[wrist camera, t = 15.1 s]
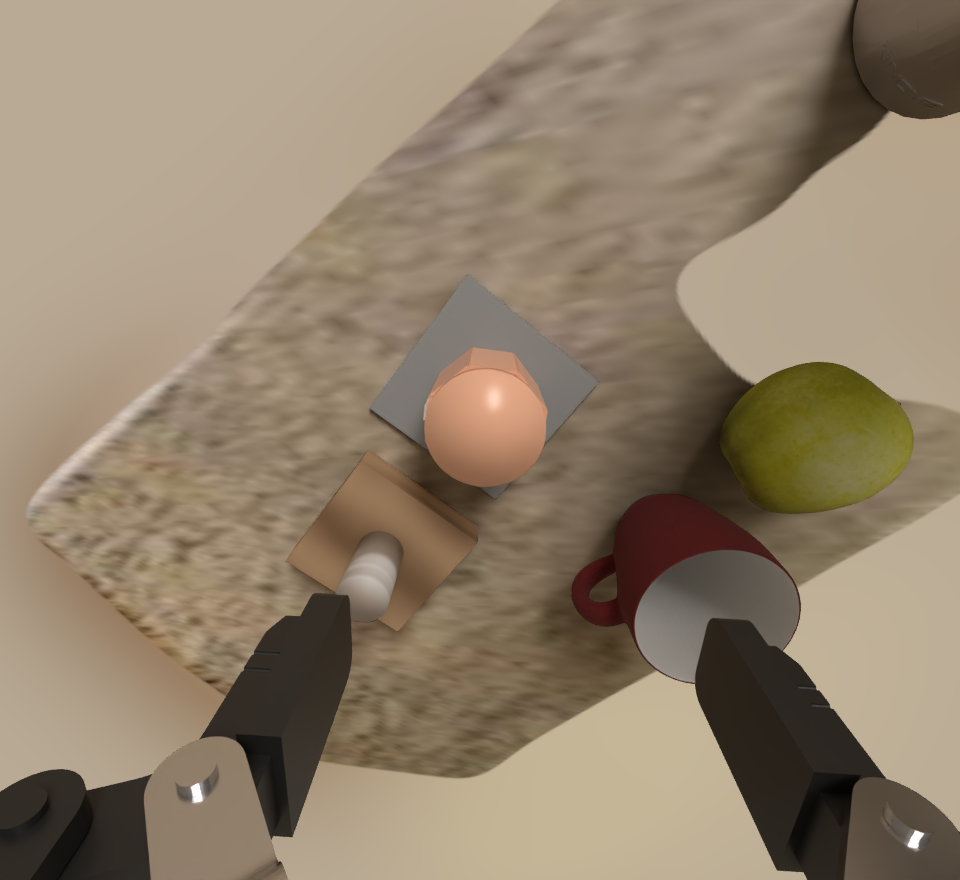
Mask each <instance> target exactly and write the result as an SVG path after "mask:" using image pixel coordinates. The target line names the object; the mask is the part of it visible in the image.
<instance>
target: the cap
mask: <svg viewBox="0 0 960 880" xmlns="http://www.w3.org/2000/svg"><path fill="white" fill-rule="evenodd" d="M547 413H548V411H547V407H546V405H545V402H544V400H543V397H542V395H541V392H540V390H539V387H538V385H537V383H536V382H535V381H534V379H533V378H532V377H531V375H530V374H529V373H528V371H527V370H526V369H525V367H524V366H523V365H522V363H521V362H520V361H519V359H518V358H517V357H516V355H515V354H513V353H511V352H504V351H496V350H489V349H481V348H474V347H473V349H472V348H471V349H469V350H468V351H467V352H466V353H464V354H463V355H462V356H460V357H459V358H458V359H456V360H455V361H454V362H453V363H451V364H450V365H449V366H447V367H446V368H445V369H444V370H442V371H441V372H440V374H439V376H438V378H437V380H436V382H435V384H434V386H433V388H432V390H431V392H430V394H429V397H428V400H427V402H426V404H425V407H424V417H423V420H425V425H424V432H425V439H424V441H425V443H426V444H427V447H428V449H429V452H430V454H431V456H432V458H433V459H434V461H435V462H436V463H437V465H438V466H439V467H440V468H441V469H442V470H443V471H444V472H445V473H447V474H448V475H449V476H451V477H452V478H454V479H456V480H458V481H460V482H462V483H465V484H469V485H473V486H480V487H491V486H498V485H502V484H506V483H508V482H511V481H513V480H515V479H517V478H518V477H520V476H522V475H523V474H524V473H525V472H527V471H528V470H529V469H530V468H531V467H532V466H533V464H534V463H535V462H536V460H537V459H538V457H539V456H540V453H541V451H542V449H543V446H544V442H545V437H546V419H547Z"/></svg>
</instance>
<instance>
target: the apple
mask: <svg viewBox="0 0 960 880" xmlns="http://www.w3.org/2000/svg"><path fill="white" fill-rule="evenodd" d="M900 405H901V403H897V402H896V401H895V400H894V399H893V398H892V397H890V396H889V395H887V394H886V393H885V392H883V391H882V390H881V389H880V388H878V387H877V386H876V385H875V384H873V383H872V382H871V381H869V380H868V379H866V378H865V377H864V376H862V375H860V374H858V373H857V372H855V371H853V370H851V369H849V368H847V367H844V366H842V365H838V364H834V363H826V362H825V363H824V362H813V363H805V364H801V365H796V366H793V367H790V368H787V369H784V370H781V371H779V372H776V373H774V374H772V375H770V376H768V377H767V378H765V379H763V380H762V381H760V382H759V383H758V384H756V385H755V386H754V387H752V388H751V389H750V390H749V391H748V392H747V393H745V394H744V395H743V396H742V397H741V398H740V400H739V401H738V402H737V403H736V404H735V406H734V407H733V408H732V410H731V411H730V413H729V414H728V416H727V418H726V420H725V422H724V424H723V426H722V429H721V433H720V447H721V450H722V452H723V454H724V456H725V458H726V459H727V460H728V461H729V463H730V465H731V467H732V469H733V471H734V473H735V475H736V478H737V480H738V481H739V483H740V484H741V486H742V487H743V490H744V492H745V493H746V495H747V496H748V498H749V499H750V500H751V501H752V502H753V503H754V504H755V505H757V506H758V507H760V508H762V509H764V510H768V511H772V512H777V513H785V514H799V513H814V512H821V511H827V510H833V509H837V508H841V507H845V506H848V505H852V504H855V503H857V502H860V501H862V500H864V499H867V498H869V497H871V496H873V495H875V494H876V493H878V492H879V491H881V490H882V489H884V488H885V487H887V486H888V485H889V484H891V483H892V482H893V481H894V480H895V479H896V478H897V477H898V476H899V475H900V474H901V472H902V471H903V469H904V468H905V466H906V464H907V463H908V461H909V459H910V456H911V453H912V449H913V430H912V427H911V424H910V421H909V419H908V417H907V415H906V413H905V412H904V410H903V409H902V408H901V406H900Z"/></svg>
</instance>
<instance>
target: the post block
mask: <svg viewBox="0 0 960 880" xmlns="http://www.w3.org/2000/svg"><path fill="white" fill-rule="evenodd" d="M477 542H478V526H476V525H475V524H473V523H472V522H471V521H469V520H468V519H466V518H465V517H463V516H462V515H461V514H459V513H458V512H456V511H455V510H454V509H452V508H451V507H449V506H448V505H446V504H445V503H444V502H442V501H441V500H439V499H438V498H436V497H435V496H434V495H432V494H431V493H429V492H428V491H427V490H425V489H424V488H422V487H421V486H419V485H418V484H417V483H415V482H414V481H412V480H411V479H409V478H408V477H407V476H405V475H404V474H402V473H401V472H400V471H398V470H397V469H395V468H394V467H392V466H391V465H390V464H388V463H387V462H385V461H384V460H382V459H381V458H380V457H378V456H377V455H375V454H374V453H373V452H371V451H370V450H368V451H367V453H366V454H365V455H364V457H363V458H362V459H361V461H360V462H359V463H358V464H357V466H356V467H355V468H354V470H353V471H352V472H351V474H350V475H349V476H348V478H347V479H346V480H345V482H344V483H343V484H342V486H341V487H340V488H339V490H338V491H337V492H336V494H335V495H334V496H333V498H332V499H331V500H330V502H329V503H328V504H327V506H326V507H325V508H324V509H323V511H322V512H321V513H320V515H319V516H318V517H317V519H316V520H315V521H314V523H313V524H312V525H311V527H310V528H309V529H308V531H307V532H306V533H305V535H304V536H303V537H302V539H301V540H300V541H299V543H298V544H297V545H296V547H295V548H294V550H293V551H292V552H291V554H290V555H289V557H288V558H287V560H286V562H288V563H290V564H291V565H293V566H294V567H296V568H297V569H299V570H301V571H302V572H304V573H305V574H307V575H309V576H310V577H312V578H313V579H315V580H316V581H318V582H320V583H321V584H323V585H324V586H326V587H328V588H329V589H331V590H332V591H334V592H336V593H335V594H338V595H348V596H349V599H350V613H351V620H353V621H357V622H371V621H375V620H377V619H378V620H380V621H381V622H383V623H385V624H386V625H388V626H389V627H391V628H393V629H394V630H396V631H397V632H398V631H399V630H400V628H401V627H402V626H403V625H404V624H405V623H406V622H407V621H408V619H409V618H410V617H411V616H412V615H413V614H414V613H415V612H416V611H417V609H418V608H419V607H420V606H421V605H422V604H423V603H424V602H425V601H426V599H427V598H428V597H429V596H430V595H431V594H432V593H433V592H434V590H435V589H436V588H437V587H438V586H439V585H440V584H441V583H442V582H443V580H444V579H445V578H446V577H447V576H448V575H449V574H450V573H451V571H452V570H453V569H454V568H455V567H456V566H457V565H458V564H459V563H460V561H461V560H462V559H463V558H464V557H465V556H466V555H467V554H468V553H469V551H470V550H471V549H472V548H473V547H474V546H475V545H476V544H477Z"/></svg>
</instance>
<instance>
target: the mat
mask: <svg viewBox="0 0 960 880" xmlns="http://www.w3.org/2000/svg"><path fill="white" fill-rule="evenodd" d="M473 347H474V348H481V349H489V350H496V351H504V352H511V353H513V354H515V355H516V357H517V358H518V359H519V361H520V362H521V363H522V365H523V366H524V367H525V369H526V370H527V371H528V373H529V374H530V375H531V377H532V378H533V379H534V381H535V382H536V383H537V385H538V387H539V390H540V392H541V395H542V397H543V400H544V402H545V405H546V407H547V411H548V413H547V419H546V437H545V442H544V444H545V443H546V442H547V440H548V439H549V438H550V437H551V436H552V435H553V434H554V433H555V431H556V430H557V429H558V428H559V427H560V426H561V425H562V423H563V422H564V421H565V420H566V419H567V418H568V417H569V415H570V414H571V413H572V412H573V411H574V410H575V409H576V408H577V406H578V405H579V404H580V403H581V402H582V401H583V400H584V398H585V397H586V396H587V395H588V394H589V393H590V392H591V390H592V389H593V388H594V387H595V386H596V385H597V384H598V383H599V381H598V380H597V379H595V378H594V377H593V376H592V375H590V374H589V373H588V372H587V371H586V370H584V369H583V368H582V367H581V366H579V365H578V364H577V363H576V362H575V361H573V360H572V359H571V358H570V357H568V356H567V355H566V354H565V353H564V352H562V351H561V350H560V349H559V348H557V347H556V346H555V345H554V344H553V343H551V342H550V341H549V340H548V339H546V338H545V337H544V336H543V335H542V334H540V333H539V332H538V331H537V330H535V329H534V328H533V327H532V326H531V325H529V324H528V323H527V322H526V321H524V320H523V319H522V318H521V317H520V316H518V315H517V314H516V313H515V312H513V311H512V310H511V309H510V308H509V307H507V306H506V305H505V304H504V303H502V302H501V301H500V300H499V299H498V298H496V297H495V296H494V295H493V294H491V293H490V292H489V291H488V290H487V289H485V288H484V287H483V286H482V285H480V284H479V283H478V282H477V281H476V280H474V279H473V278H472V277H471V276H469V275H467V276H466V277H465V279H464V280H463V281H462V283H461V284H460V286H459V287H458V288H457V290H456V291H455V292H454V294H453V295H452V296H451V298H450V299H449V301H448V302H447V303H446V305H445V306H444V307H443V309H442V310H441V311H440V313H439V314H438V316H437V317H436V318H435V320H434V321H433V322H432V324H431V325H430V326H429V328H428V329H427V331H426V332H425V333H424V335H423V336H422V337H421V339H420V340H419V341H418V343H417V344H416V346H415V347H414V348H413V350H412V351H411V352H410V354H409V355H408V356H407V358H406V359H405V361H404V362H403V363H402V365H401V366H400V367H399V369H398V370H397V371H396V373H395V374H394V375H393V377H392V378H391V380H390V381H389V382H388V384H387V385H386V386H385V388H384V389H383V390H382V392H381V393H380V395H379V396H378V397H377V399H376V400H375V401H374V403H373V404H372V405H371V407H370V409H371V410H373V411H374V412H375V413H377V414H378V415H380V416H381V417H382V418H384V419H385V420H387V421H388V422H389V423H391V424H392V425H393V426H395V427H396V428H398V429H399V430H400V431H402V432H403V433H404V434H406V435H407V436H409V437H410V438H411V439H413V440H414V441H416V442H417V443H418V444H420V445H421V446H422V447H424V448H425V449H427V450H428V451H429V449H428V447H427V444H426V443H425V441H424V439H425V432H424V425H425V420H423V417H424V407H425V404H426V402H427V400H428V397H429V394H430V392H431V390H432V388H433V386H434V384H435V382H436V380H437V378H438V376H439V374H440V372H441V371H442V370H444V369H445V368H446V367H447V366H449V365H450V364H451V363H453V362H454V361H455V360H456V359H458V358H459V357H460V356H462V355H463V354H464V353H466V352H467V351H468V350H469V349H471V348H472V349H473ZM509 484H510V482H508V483H506V484H502V485H498V486H491V487H480V486H478V487H479V488H481V489H482V490H483V491H485V492H486V493H488V494H489V495H490V496H492V497H493V498H494V499H496V498H497V497H498V496H499V495H500V494H501V493H502V492H503V490H504V489H505V488H506V487H507V486H508V485H509Z"/></svg>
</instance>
